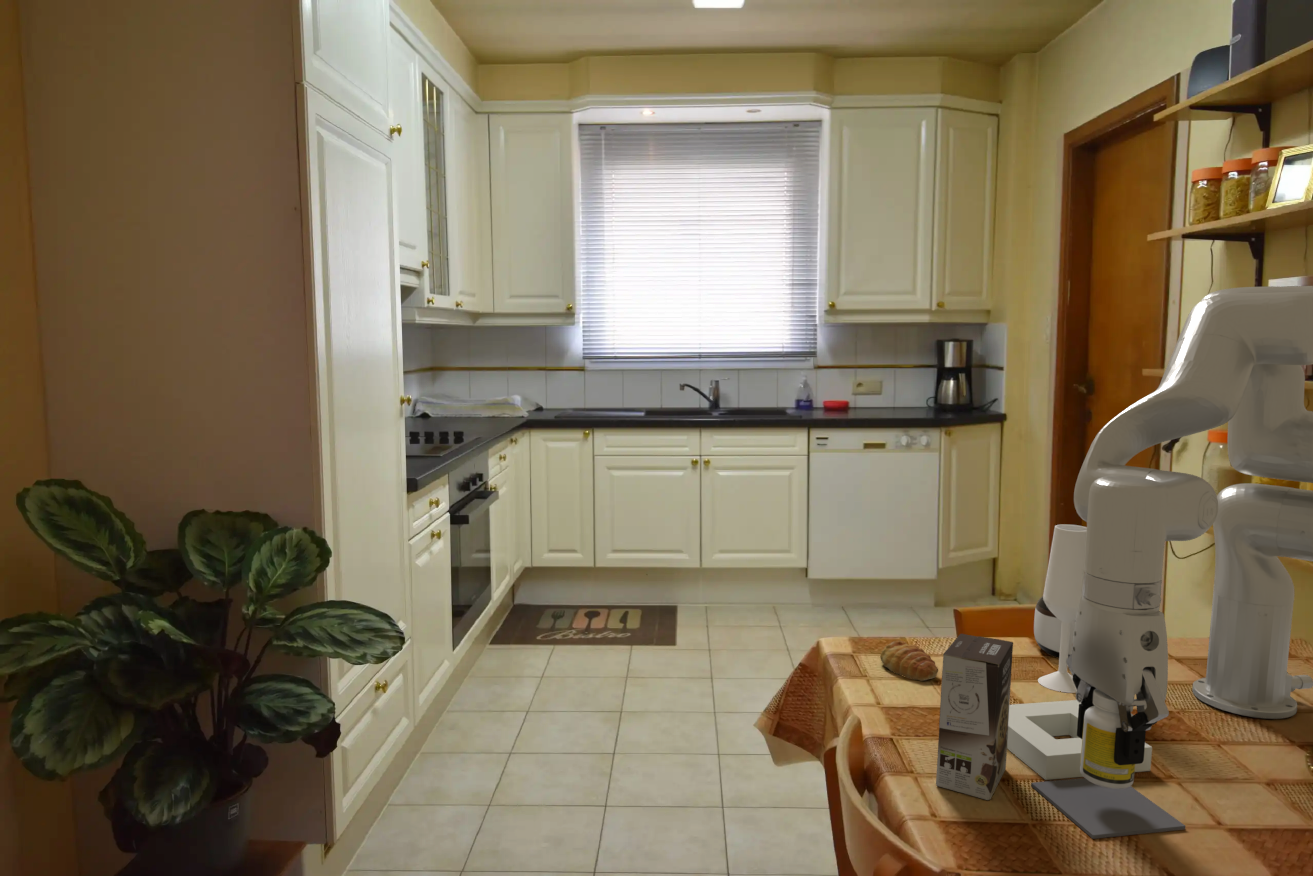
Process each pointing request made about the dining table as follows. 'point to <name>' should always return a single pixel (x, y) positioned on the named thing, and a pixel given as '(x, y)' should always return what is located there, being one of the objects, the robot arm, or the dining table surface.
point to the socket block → (1051, 739)
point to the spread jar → (1050, 630)
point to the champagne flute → (1064, 594)
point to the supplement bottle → (1103, 745)
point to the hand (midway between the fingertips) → (1109, 748)
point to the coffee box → (974, 715)
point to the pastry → (908, 661)
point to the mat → (1106, 808)
